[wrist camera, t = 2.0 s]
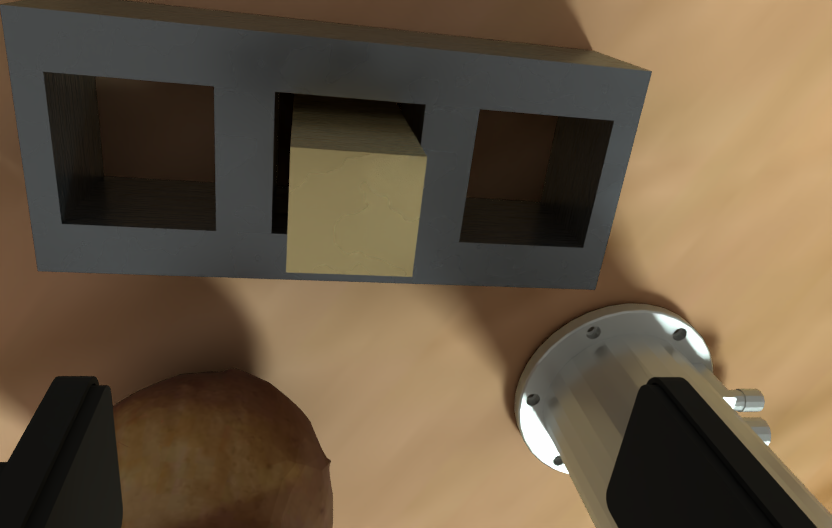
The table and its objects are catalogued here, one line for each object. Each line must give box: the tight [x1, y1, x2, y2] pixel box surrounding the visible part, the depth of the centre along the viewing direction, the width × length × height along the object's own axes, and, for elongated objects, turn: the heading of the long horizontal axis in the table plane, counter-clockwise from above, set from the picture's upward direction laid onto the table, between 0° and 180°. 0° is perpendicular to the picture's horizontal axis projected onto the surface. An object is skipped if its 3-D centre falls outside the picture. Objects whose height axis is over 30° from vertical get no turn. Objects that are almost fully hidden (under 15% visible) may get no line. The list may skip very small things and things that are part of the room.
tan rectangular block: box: [286, 93, 427, 277], centre depth 27 cm, size 4×4×11 cm
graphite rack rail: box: [0, 0, 652, 290], centre depth 29 cm, size 24×10×6 cm, turn 83°
